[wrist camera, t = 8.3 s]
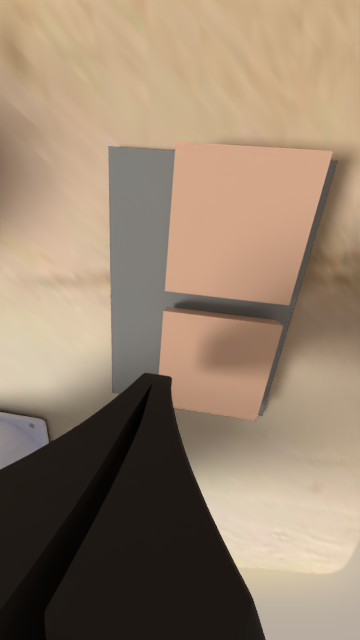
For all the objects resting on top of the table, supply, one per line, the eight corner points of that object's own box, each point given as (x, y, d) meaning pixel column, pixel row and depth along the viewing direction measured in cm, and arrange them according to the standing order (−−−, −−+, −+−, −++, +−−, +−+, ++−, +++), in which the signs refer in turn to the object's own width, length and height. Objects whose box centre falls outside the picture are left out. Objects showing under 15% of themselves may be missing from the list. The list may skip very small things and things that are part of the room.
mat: (114, 389, 15) (112, 392, 14) (112, 150, 10) (108, 146, 10) (260, 411, 14) (262, 415, 13) (331, 164, 9) (337, 160, 9)
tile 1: (156, 405, 12) (256, 420, 12) (163, 311, 10) (283, 325, 10) (160, 390, 14) (250, 404, 13) (167, 305, 12) (273, 317, 11)
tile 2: (164, 290, 10) (289, 305, 10) (175, 141, 8) (333, 151, 8) (169, 287, 11) (278, 299, 11) (179, 158, 9) (313, 167, 9)
